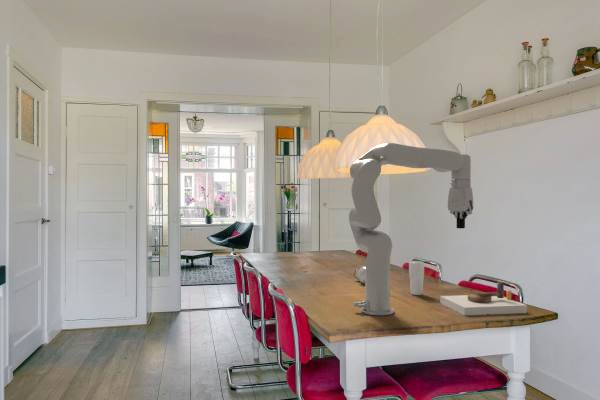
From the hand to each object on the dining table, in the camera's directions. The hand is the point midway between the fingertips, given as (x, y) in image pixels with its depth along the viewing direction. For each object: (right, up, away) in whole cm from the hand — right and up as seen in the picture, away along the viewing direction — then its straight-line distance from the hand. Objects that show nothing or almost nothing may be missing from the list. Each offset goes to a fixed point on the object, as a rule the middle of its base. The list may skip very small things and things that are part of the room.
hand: (460, 228), depth 186 cm
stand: (+7, -32, -5) cm, 33 cm away
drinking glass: (-13, -32, +20) cm, 40 cm away
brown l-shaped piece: (+9, -29, -5) cm, 30 cm away
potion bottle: (-33, -32, +48) cm, 67 cm away
